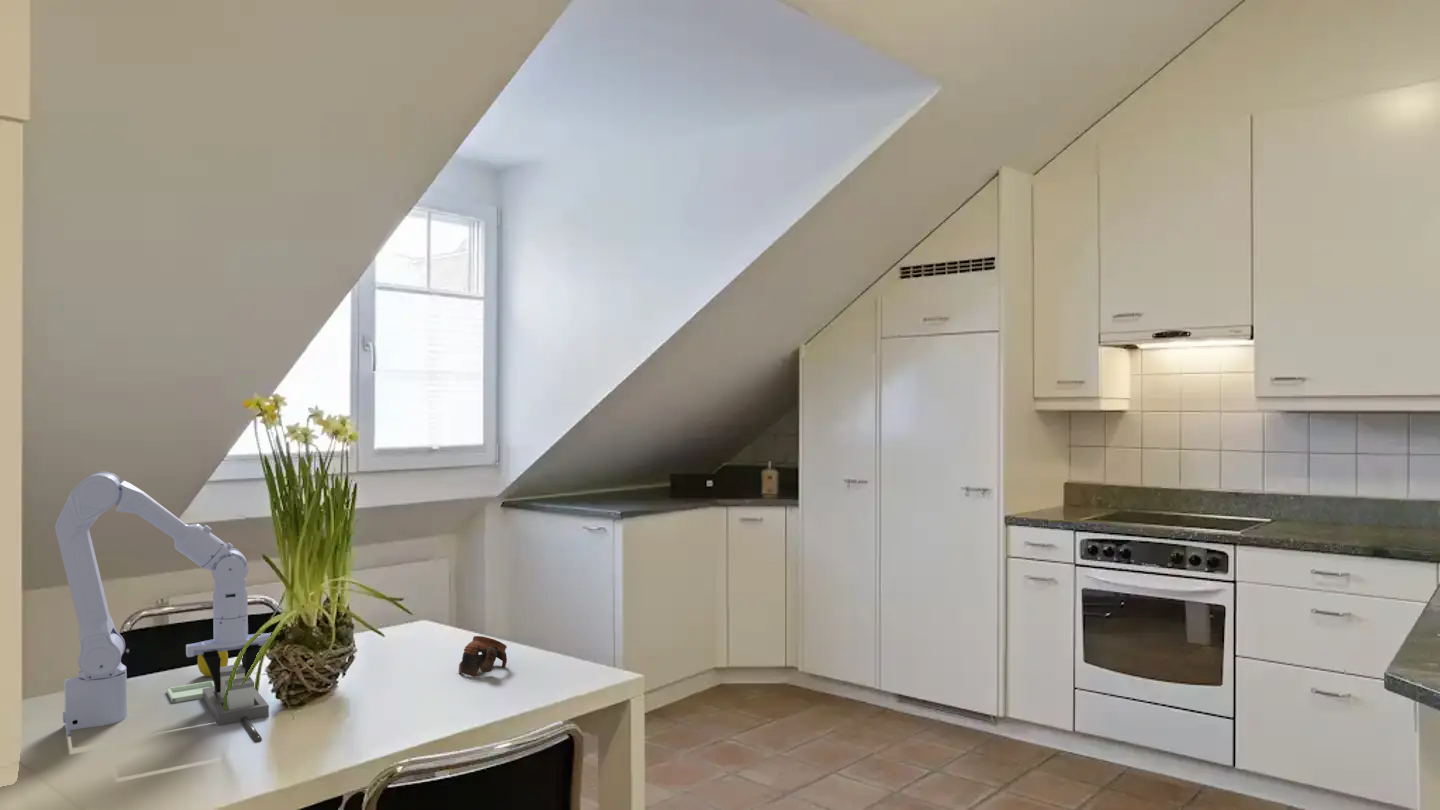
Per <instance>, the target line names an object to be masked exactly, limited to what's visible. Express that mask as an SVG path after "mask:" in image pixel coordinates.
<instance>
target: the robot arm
mask: <svg viewBox="0 0 1440 810" xmlns="http://www.w3.org/2000/svg"><path fill="white" fill-rule="evenodd" d="M115 505H116V506H117V507H116V509H115V510H114V511H115V512H117V513H118V512H119V513H130V514H136V515H137V516H139V517H141V518H142V519H144V520H145V521H147V523H149V524H151V525H153V526H154V527H155V528H157V529H158V530H160V531H161V532H163V533H165V534H166V535H167V536H169V537H170V538H173V542H174V549H175V550H176V551H177V552H179V553H180V554H181V555H183V556H184V557H186V558H188V560H190V561H192V562H193V563H195V564H196V565H197V566H199V567H200V568H202V569H203V570H209V571H211V575H212V577H213V579H214V590H213V593H212V614H213V615H212V618H213V623H212V624H213V639H209V640H208V639H207V640H204V641H199V642H195V643H187V644H185V655H186V658H192V657H195V656H198V655H201V654H202V656H203V658H204V660H205V662H206V664H207V666H208V668H209V670H210V673H211V675H212V677H211V678H212V681H213V682H214V687H215V691H216V693H218V692H220V690H221V682H220V661H221V658H220V657H219V654H218V652H221V651H227V652H228V651H233V650H240V653H241V652H242V649H243V648H244V646H245V645H246V643H247V642H248V641H249V640H250V639H251V638H252V637H253V636H254V635H255V634H256V633H252V634H249V623H248V622H249V619H248V618H249V617H248V614H249V613H248V611H249V610H248V609H249V607H248V606H249V605H248V599H249V598H248V589H247V585H248V584H247V583H248V582H247V581H248V580H247V578H246V577H247V575H248V572H249V567H248V564H247V563H248V562H247V558H246V557H245V555H244V554H243V553H242V552H241V551H240V549H237V548H233V547H234V546H233V544H232V543H230V542H227V543H226V542H225V541H223V540H222V539H220V538H219V537H217V536H216V535H215V534H213V533H212V532H211V531H212V528H211V527H210V526H209V525H207V524H205V525H204V526H202V525H201V524H199V523H191V524H187V523H185V522H184V521H183V520H181V519H180V518H178V517H177V516H176V515H174V513H172V512H171V511H169V510H168V509H167V508H166V507H164V506H163V505H161V503H159V502H158V501H156V500H155V499H154V498H152V497H151V496H150V495H149V494H148V493H146V492H145V491H143V490H142V489H140V488H138V487H137V486H135V485H134V484H132V483H130V482H128V481H126V480H121V479H120V477H119V476H118V475H117V474H115V473H112V472H108V471H98V472H94V473H92V474H91V475H89V476H88V477H86V478H84V479H83V480H81V482H79V484H77V485H76V486H75V487H74V488H73V489H72V490H71V491H70V493H69V495H68V497H67V500H66V502H65V504H64V506H63V507H62V510H61V511H60V514H59V516H58V518H57V520H56V523H55V524H54V525H55V528H54V530H55V534H56V538H57V541H58V546H59V551H60V555H61V558H62V562H63V567H64V570H65V574H66V575H65V576H66V580H67V583H68V587H69V590H70V591H69V592H70V595H71V599H72V604H73V608H74V610H75V611H74V612H75V616H76V620H77V624H78V638H79V639H78V640H79V644H80V652H79V655H78V656H77V664H78V668H79V671H78V673H77V676H75V677H72V678H71V677H70V678H66V679H64V686H63V687H64V711H63V712H62V722H63V724H64V727H65V733H66V736H71V731H74V730H79V729H85V728H93V727H103V726H107V725H112V724H116V723H118V722H121V721H123V720H126V718H127V717H128V690H127V689H128V685H127V683H128V679H127V677H128V675H127V666H126V665H125V664H123V663H122V656H123V654H124V653H125V650H126V642H125V639H124V637H123V636H122V635H121V634H120V633H119V632H118V631H117V629H116V626H115V622H114V620H113V618H112V616H111V614H110V610H109V607H108V602H107V598H106V593H105V589H104V585H103V582H102V577H101V573H100V569H99V565H98V561H97V560H98V559H97V557H96V553H95V548H94V544H93V540H92V537H91V532H90V528H91V527H92V526H93V524H95V522H96V520H98V518H99V517H100V516H101V515H102V514H104V513H105V512H107V511H108V510H110V508H112V507H114V506H115ZM271 633H272V632H268V633H267V632H265V633H260V634H261V635H260V636H258V637H257V638H256V639H255V640H254V641H253V642H252V643H251V644H250V645H249V647H248V648H247V650H246V652H245V654H244V655H243V658H242V657H241V665H242V666H243V667H244V668H245V676H246V674H247V672H248V670H249V669H250V667H251V665H252V664H253V662H254V660H255V658H256V655H257V653H258V652H259V650H260V651H261V649H260V646H265V645H264V644H265V642H266V641H267V639H268V638H269V637H270V635H271ZM74 721H75V722H76V721H77V722H76V723H73V722H74Z"/></svg>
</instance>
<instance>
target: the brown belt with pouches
mask: <svg viewBox="0 0 1440 810" xmlns="http://www.w3.org/2000/svg"><path fill="white" fill-rule="evenodd" d="M506 649H507V645H506V644H505V643H503V642H501V641H499V640H497V639H494V638H492V637H487V636H482V635H481V636H480V635H474V636H473V637H472V641H470V642H469V643H468V644H467V645H466V646H464V649H463V654H462V658H461V662H459V664H458V666H459V667H458V672H459V673H458V674H463V675H468V676H471V677H475V676H477V677H478V674H479V670H480V671H481V672H482V673H484V674H486V673H490V672H492V671H493V668H494V665H495V661H496V660H497V659H499V660H500V661H502V662H501V664H502V665H501V667H502V668H505V667H506V666H507V662H508V658H507V653H506ZM479 653H480V654H479Z"/></svg>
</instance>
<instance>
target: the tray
mask: <svg viewBox="0 0 1440 810" xmlns="http://www.w3.org/2000/svg"><path fill="white" fill-rule="evenodd" d="M210 687H214V682H213V680H207V681H202V682H201V681H200V682H196V683H191V684H190V683H189V684H184V685H177V686H171V687H167V688H166V694H167V695H168V698H169V699H170V701H171V703H172V704H175V703H180V702H187V701H192V700H198V699H203V689H204V688H210Z"/></svg>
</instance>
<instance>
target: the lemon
mask: <svg viewBox="0 0 1440 810" xmlns="http://www.w3.org/2000/svg"><path fill="white" fill-rule="evenodd" d="M218 654H219V657H220V658H221V661H220V667H224V666H228V663H229V652H228V651H221V652H218ZM197 667H198V670H199V672H200V673H201V674H202V675H203V676H205V677H208V678H212V675H211V673H210V670H209V668H208V666H207V664H206V662H205V660H204V658H203V656H202V654H201V655H197Z"/></svg>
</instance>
